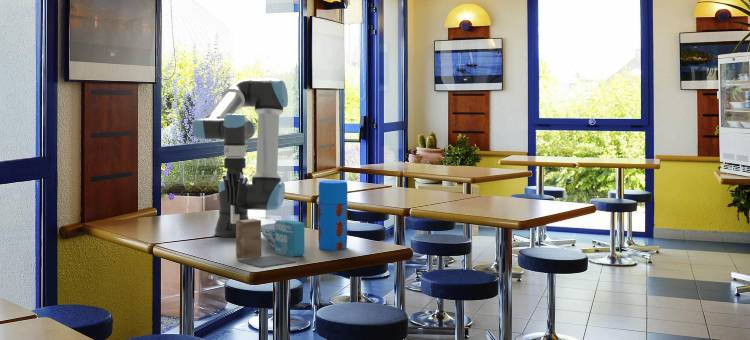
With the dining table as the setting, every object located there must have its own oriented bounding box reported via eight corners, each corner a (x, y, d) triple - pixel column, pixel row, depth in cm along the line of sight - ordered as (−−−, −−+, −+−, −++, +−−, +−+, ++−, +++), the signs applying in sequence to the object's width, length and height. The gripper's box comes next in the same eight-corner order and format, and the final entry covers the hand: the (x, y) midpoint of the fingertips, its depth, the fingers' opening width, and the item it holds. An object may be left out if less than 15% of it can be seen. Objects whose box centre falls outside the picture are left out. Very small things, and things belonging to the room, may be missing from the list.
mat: (237, 261, 261) (237, 260, 261) (271, 256, 271) (271, 255, 271) (261, 267, 251) (261, 266, 251) (295, 262, 260) (295, 261, 260)
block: (236, 257, 268) (236, 220, 267) (253, 255, 273) (252, 218, 272) (244, 259, 265) (243, 222, 264) (261, 257, 269) (260, 220, 268)
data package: (274, 252, 278) (274, 220, 277) (284, 251, 281) (284, 218, 280) (294, 257, 269) (294, 223, 268) (304, 256, 272) (304, 222, 271)
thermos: (314, 246, 291) (314, 180, 289) (341, 244, 295) (341, 180, 293) (324, 251, 281) (324, 183, 279) (351, 249, 285) (351, 182, 283)
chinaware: (263, 250, 282) (263, 229, 281) (258, 243, 296) (258, 223, 295) (303, 249, 286) (303, 228, 285) (296, 242, 300) (296, 222, 299)
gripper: (216, 156, 275) (216, 222, 276) (235, 158, 265) (235, 226, 267) (234, 156, 280) (234, 220, 282) (253, 157, 270) (254, 224, 272)
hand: (235, 223), depth 274 cm, fingers closed
